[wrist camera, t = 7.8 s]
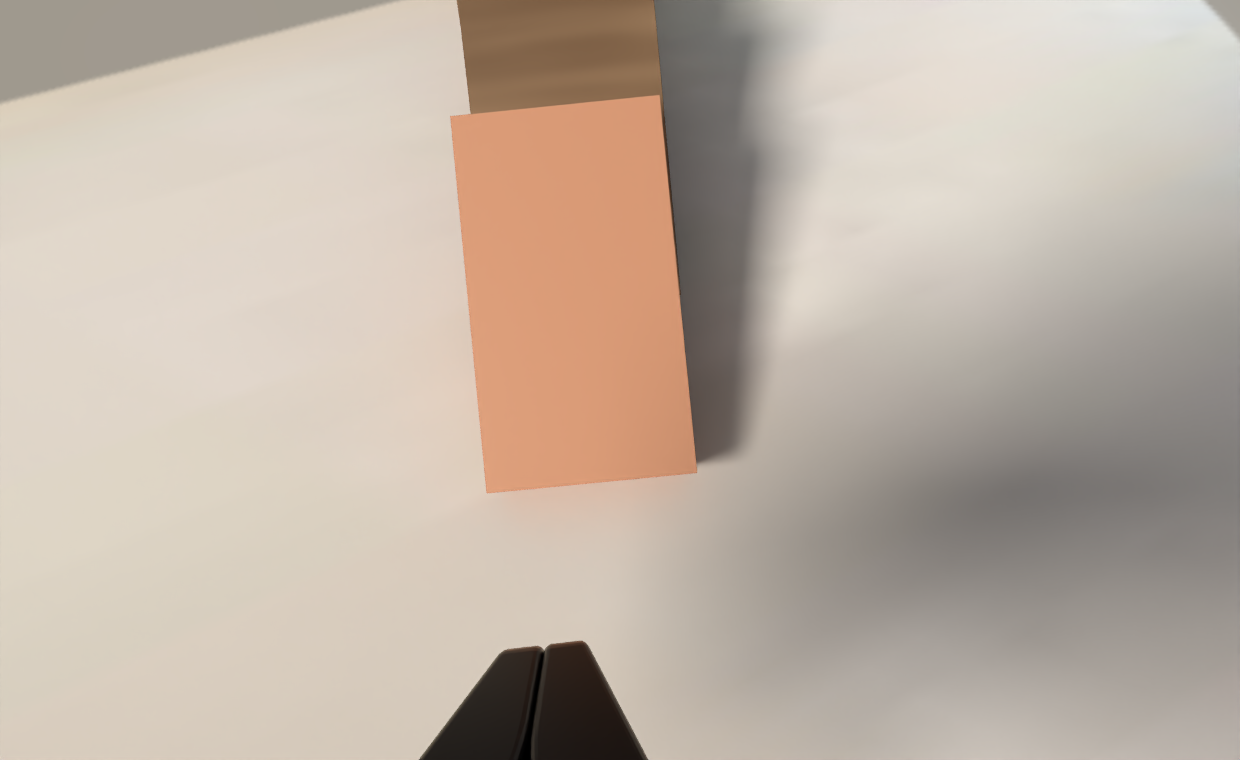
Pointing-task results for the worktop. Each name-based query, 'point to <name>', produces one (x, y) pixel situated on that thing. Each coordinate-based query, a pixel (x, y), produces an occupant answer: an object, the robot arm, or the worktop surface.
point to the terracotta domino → (573, 294)
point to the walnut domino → (560, 54)
